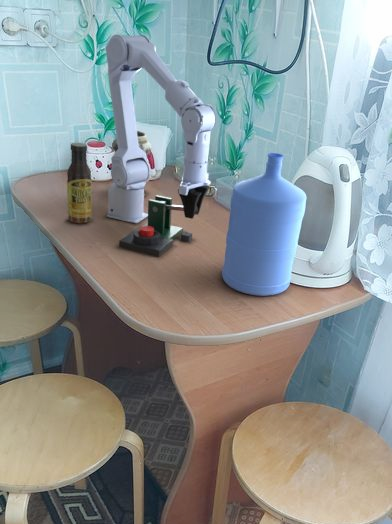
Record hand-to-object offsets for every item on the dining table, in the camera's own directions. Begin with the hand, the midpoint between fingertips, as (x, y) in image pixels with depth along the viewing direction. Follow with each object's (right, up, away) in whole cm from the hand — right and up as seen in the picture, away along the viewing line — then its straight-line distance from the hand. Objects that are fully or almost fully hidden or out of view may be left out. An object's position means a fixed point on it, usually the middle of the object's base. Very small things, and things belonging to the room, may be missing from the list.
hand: (191, 215), depth 131 cm
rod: (-4, +1, +1) cm, 4 cm away
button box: (-11, -8, -1) cm, 14 cm away
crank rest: (-1, -5, +4) cm, 7 cm away
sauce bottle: (-30, +1, +10) cm, 32 cm away
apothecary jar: (-20, +15, +32) cm, 41 cm away
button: (-11, -6, -3) cm, 13 cm away
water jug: (+15, -18, -12) cm, 27 cm away
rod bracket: (-9, -3, +6) cm, 11 cm away
